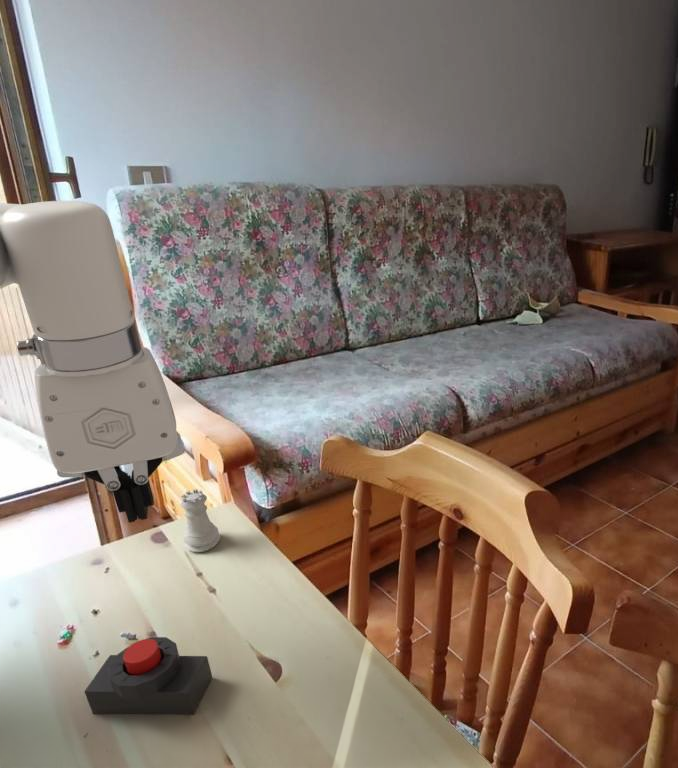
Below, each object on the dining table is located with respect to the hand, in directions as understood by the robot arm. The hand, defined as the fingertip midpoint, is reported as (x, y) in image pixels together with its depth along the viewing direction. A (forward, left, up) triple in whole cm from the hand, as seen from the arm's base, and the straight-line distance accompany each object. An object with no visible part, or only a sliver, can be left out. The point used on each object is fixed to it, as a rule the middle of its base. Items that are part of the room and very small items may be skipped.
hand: (138, 513), depth 64 cm
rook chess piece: (+2, +16, -17) cm, 24 cm away
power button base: (-1, -8, -17) cm, 19 cm away
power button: (-1, -8, -13) cm, 15 cm away
